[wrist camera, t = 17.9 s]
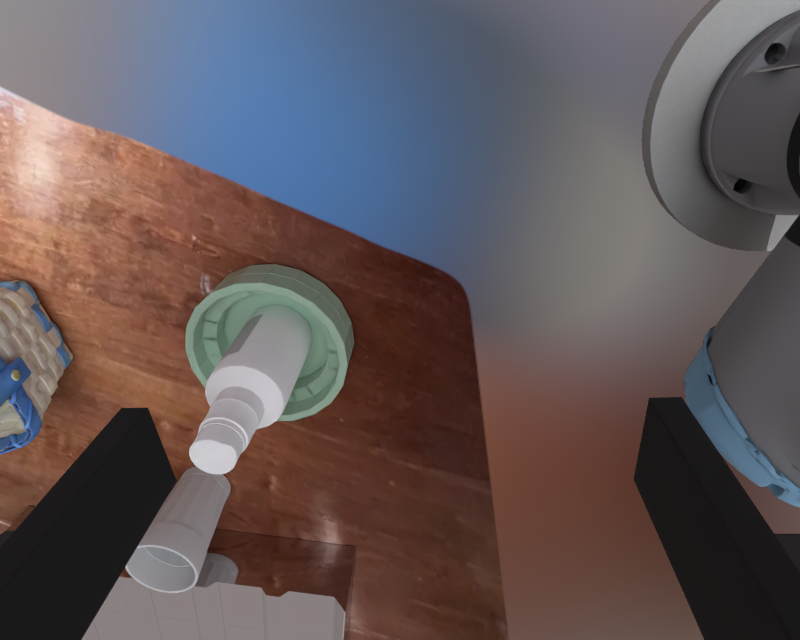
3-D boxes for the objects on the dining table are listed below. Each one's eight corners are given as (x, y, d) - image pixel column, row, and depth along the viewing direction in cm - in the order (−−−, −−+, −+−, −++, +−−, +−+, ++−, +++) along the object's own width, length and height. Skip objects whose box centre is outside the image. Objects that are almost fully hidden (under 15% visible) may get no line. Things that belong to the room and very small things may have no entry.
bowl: (344, 258, 49) (334, 279, 44) (362, 390, 56) (355, 420, 52) (188, 265, 50) (164, 286, 46) (226, 393, 58) (208, 422, 53)
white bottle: (238, 308, 51) (149, 426, 36) (302, 298, 50) (239, 415, 35) (260, 364, 55) (187, 495, 39) (321, 355, 54) (271, 487, 38)
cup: (204, 451, 62) (155, 535, 52) (249, 491, 65) (212, 578, 54) (162, 477, 65) (108, 561, 54) (208, 514, 68) (165, 601, 57)
